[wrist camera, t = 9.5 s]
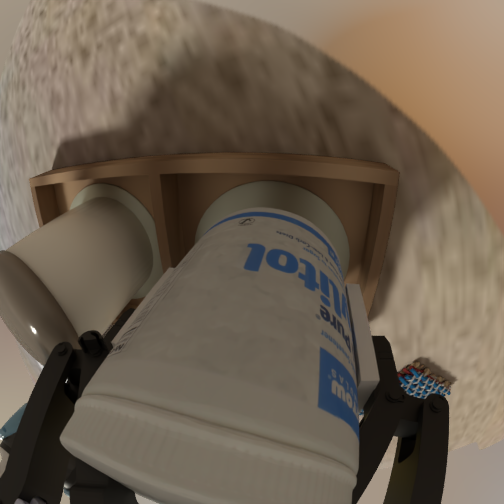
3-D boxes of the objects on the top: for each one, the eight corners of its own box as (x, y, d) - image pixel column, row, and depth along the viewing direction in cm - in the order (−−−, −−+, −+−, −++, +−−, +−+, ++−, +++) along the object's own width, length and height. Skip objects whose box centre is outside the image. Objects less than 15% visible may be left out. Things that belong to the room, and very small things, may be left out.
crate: (84, 295, 27) (69, 310, 24) (51, 170, 20) (29, 178, 17) (349, 334, 22) (353, 359, 20) (384, 163, 15) (399, 172, 13)
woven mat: (392, 418, 29) (394, 429, 27) (344, 400, 28) (345, 413, 26) (452, 380, 24) (456, 392, 22) (413, 354, 23) (418, 368, 21)
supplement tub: (368, 248, 16) (433, 506, 3) (294, 342, 20) (267, 530, 8) (226, 174, 15) (5, 388, 2) (180, 289, 20) (76, 464, 7)
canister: (88, 283, 24) (22, 353, 15) (65, 196, 20) (-28, 252, 10) (164, 297, 23) (99, 395, 13) (145, 192, 18) (31, 268, 9)
